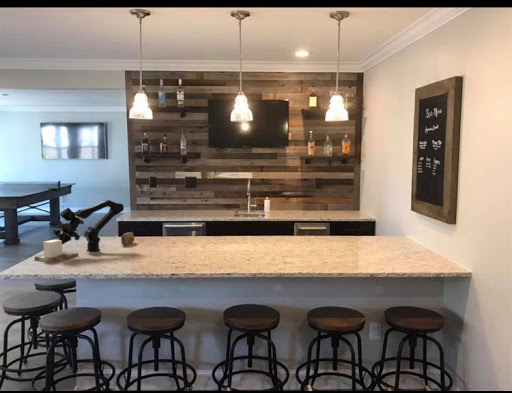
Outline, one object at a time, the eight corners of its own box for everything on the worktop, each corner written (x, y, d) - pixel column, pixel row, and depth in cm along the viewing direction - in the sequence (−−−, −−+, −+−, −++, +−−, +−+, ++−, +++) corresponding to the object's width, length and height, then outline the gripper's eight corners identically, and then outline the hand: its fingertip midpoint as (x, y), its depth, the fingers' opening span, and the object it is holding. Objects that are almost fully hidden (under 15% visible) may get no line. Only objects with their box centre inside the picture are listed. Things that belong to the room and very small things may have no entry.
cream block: (55, 253, 271) (54, 239, 270) (62, 254, 268) (61, 240, 267) (43, 256, 264) (43, 241, 263) (50, 257, 261) (50, 242, 260)
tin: (124, 246, 304) (124, 234, 303) (120, 246, 304) (120, 234, 304) (134, 242, 318) (134, 231, 318) (130, 242, 319) (130, 231, 318)
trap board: (61, 253, 281) (61, 250, 281) (78, 256, 274) (78, 252, 274) (34, 259, 263) (34, 256, 263) (51, 262, 257) (51, 259, 257)
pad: (47, 258, 267) (47, 255, 267) (55, 259, 264) (55, 256, 264) (39, 260, 262) (38, 257, 261) (47, 261, 258) (46, 258, 258)
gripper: (54, 216, 277) (39, 236, 268) (75, 219, 269) (61, 239, 260) (65, 227, 285) (51, 247, 276) (86, 229, 276) (72, 250, 267)
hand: (58, 245), depth 269 cm, fingers closed, pressing on cream block
